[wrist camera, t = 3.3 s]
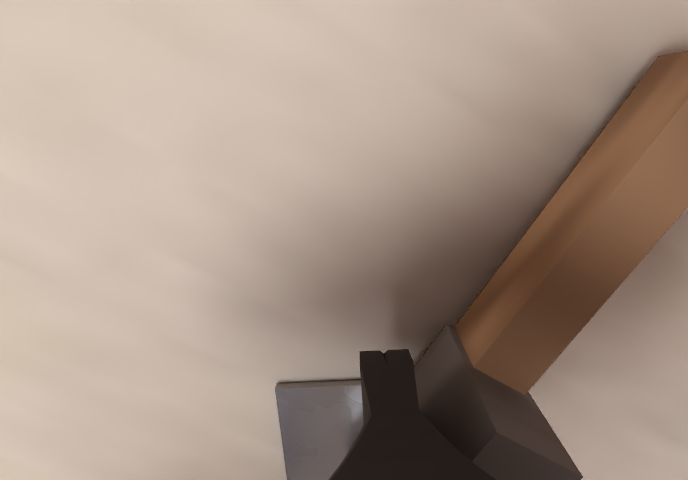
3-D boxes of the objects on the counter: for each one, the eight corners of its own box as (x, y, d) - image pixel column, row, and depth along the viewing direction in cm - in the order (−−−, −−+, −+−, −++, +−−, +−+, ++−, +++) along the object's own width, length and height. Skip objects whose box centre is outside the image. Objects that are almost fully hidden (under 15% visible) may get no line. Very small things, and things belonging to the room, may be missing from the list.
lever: (458, 462, 15) (505, 614, 11) (374, 421, 15) (384, 561, 10) (749, 122, 11) (1019, 127, 7) (650, 49, 11) (870, 2, 6)
